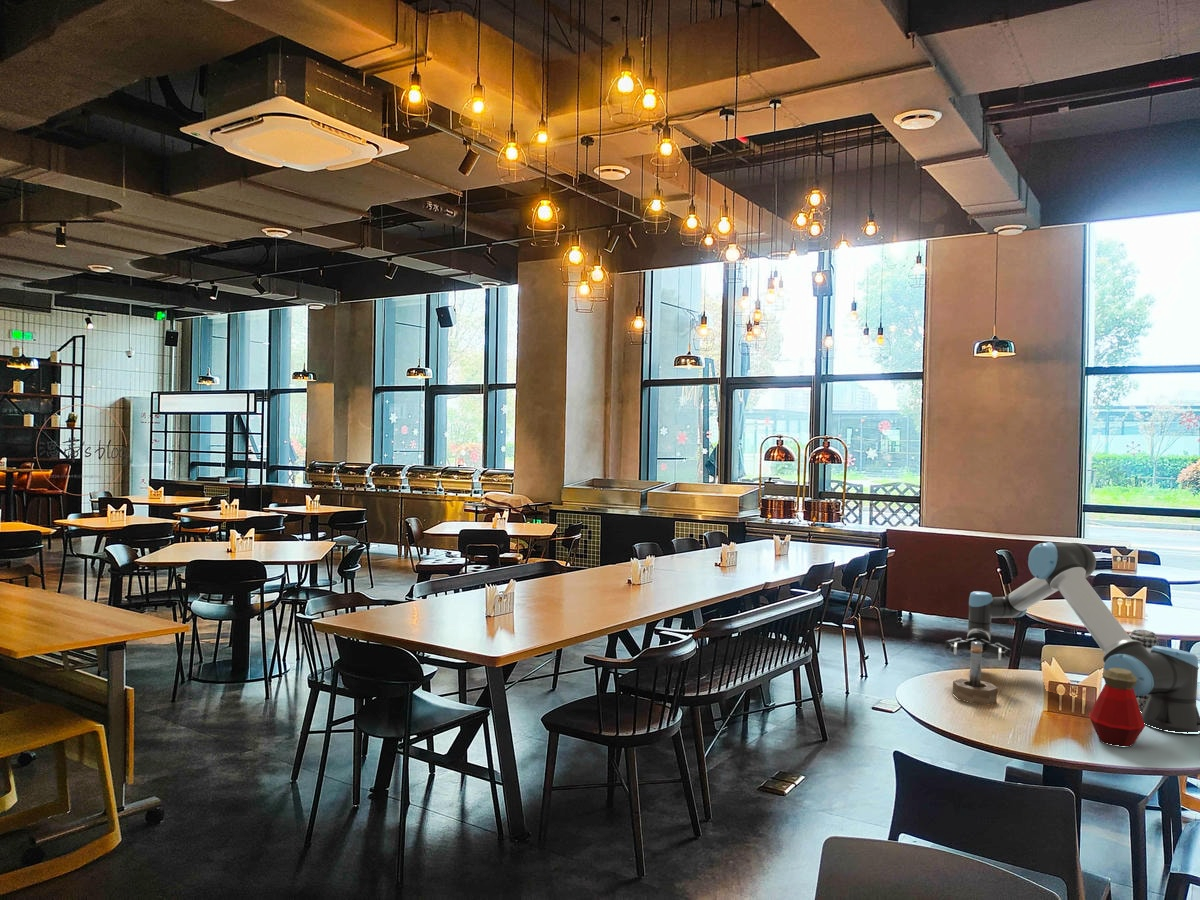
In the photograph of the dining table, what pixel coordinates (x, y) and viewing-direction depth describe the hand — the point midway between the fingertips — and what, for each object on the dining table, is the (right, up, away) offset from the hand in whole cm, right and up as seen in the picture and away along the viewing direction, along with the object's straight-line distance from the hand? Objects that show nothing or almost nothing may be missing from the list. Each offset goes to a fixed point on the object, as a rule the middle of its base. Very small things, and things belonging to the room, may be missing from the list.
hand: (977, 653), depth 278 cm
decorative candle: (+45, -15, -14) cm, 49 cm away
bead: (-4, -13, -8) cm, 15 cm away
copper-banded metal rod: (-4, -13, -8) cm, 15 cm away
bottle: (+19, -14, -43) cm, 49 cm away
